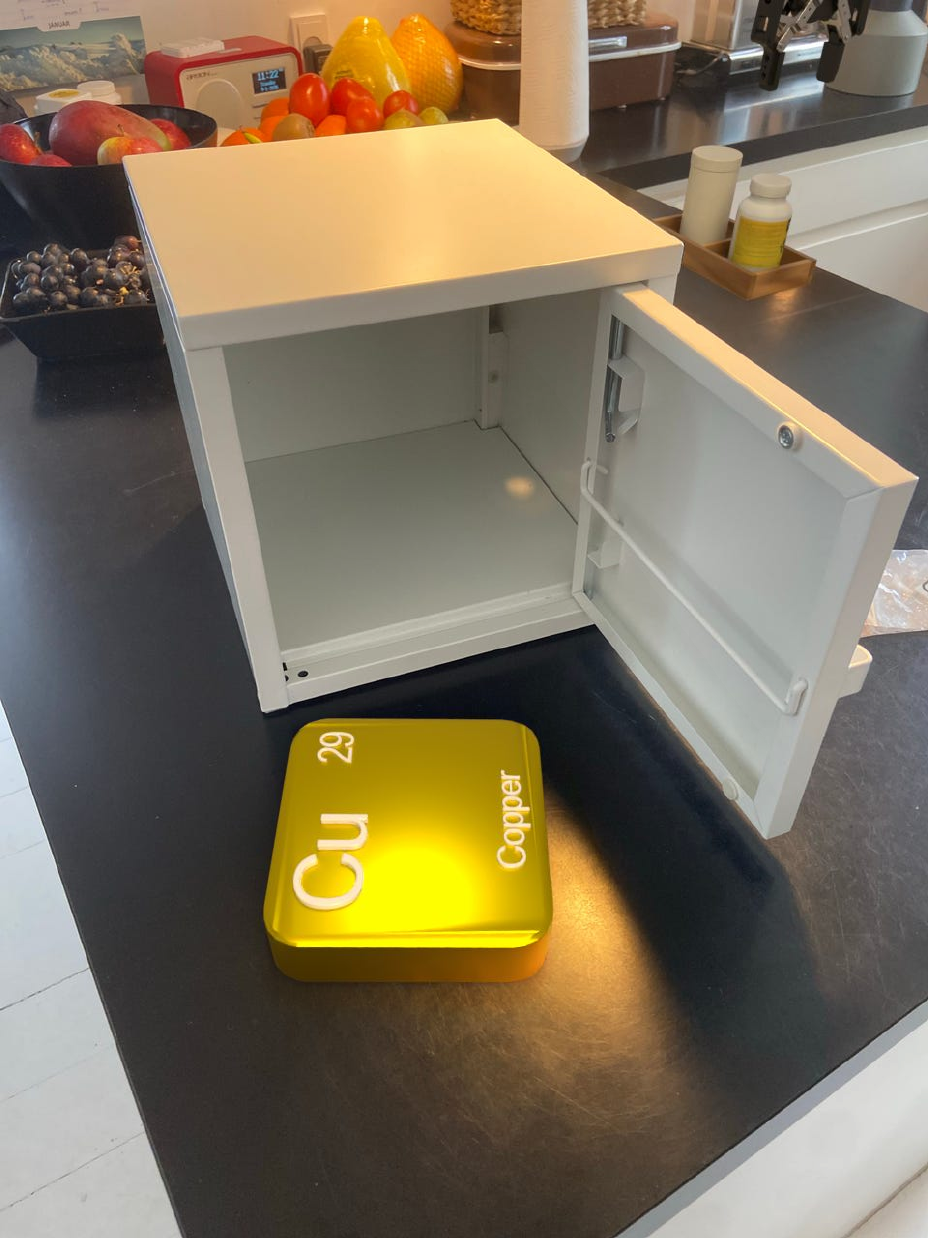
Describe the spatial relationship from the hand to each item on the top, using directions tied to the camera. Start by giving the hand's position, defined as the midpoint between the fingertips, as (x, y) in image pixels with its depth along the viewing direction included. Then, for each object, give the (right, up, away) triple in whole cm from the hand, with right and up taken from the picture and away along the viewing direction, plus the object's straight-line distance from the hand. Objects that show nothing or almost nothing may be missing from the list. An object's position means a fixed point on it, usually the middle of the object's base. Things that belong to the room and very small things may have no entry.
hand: (796, 85), depth 101 cm
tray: (-3, -13, +18) cm, 23 cm away
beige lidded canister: (-5, -10, +21) cm, 24 cm away
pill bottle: (-1, -16, +15) cm, 22 cm away
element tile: (-40, -74, -47) cm, 96 cm away
